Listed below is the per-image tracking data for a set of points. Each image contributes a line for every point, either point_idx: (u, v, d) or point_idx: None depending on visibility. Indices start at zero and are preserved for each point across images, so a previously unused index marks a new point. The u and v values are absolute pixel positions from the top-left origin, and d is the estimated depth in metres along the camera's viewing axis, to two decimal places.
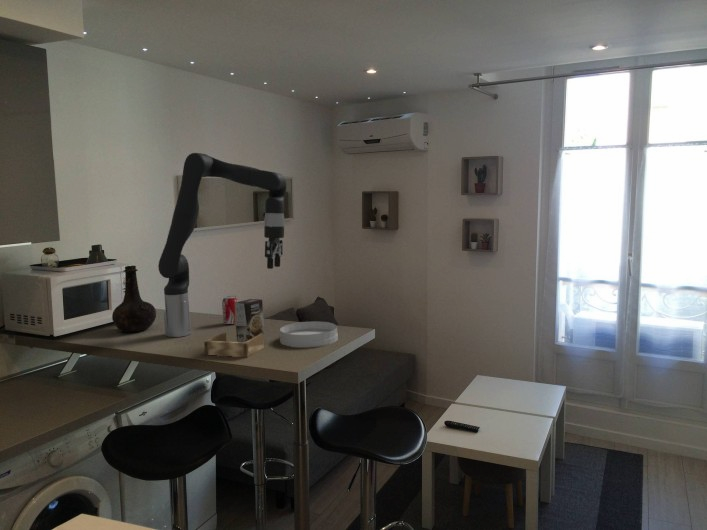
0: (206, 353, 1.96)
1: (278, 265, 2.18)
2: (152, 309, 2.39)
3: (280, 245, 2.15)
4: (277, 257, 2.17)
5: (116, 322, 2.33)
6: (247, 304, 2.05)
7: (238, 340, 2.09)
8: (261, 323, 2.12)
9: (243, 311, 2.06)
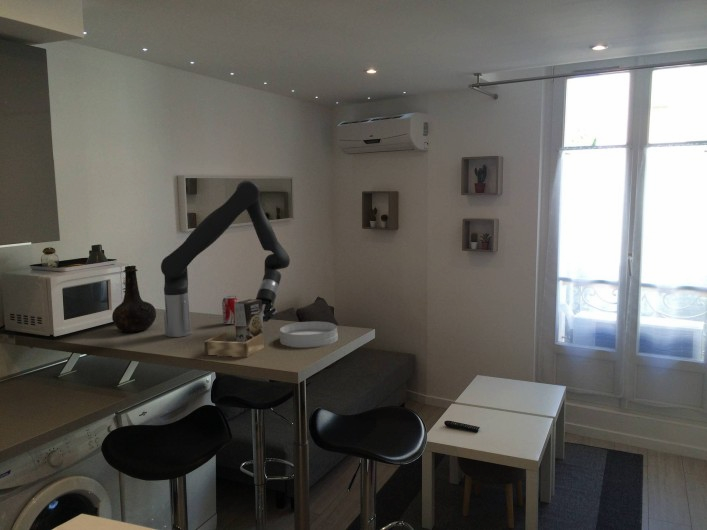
0: (206, 353, 1.96)
1: None
2: (152, 309, 2.39)
3: None
4: None
5: (116, 322, 2.33)
6: (247, 304, 2.05)
7: (238, 340, 2.09)
8: (260, 324, 2.12)
9: (243, 311, 2.06)
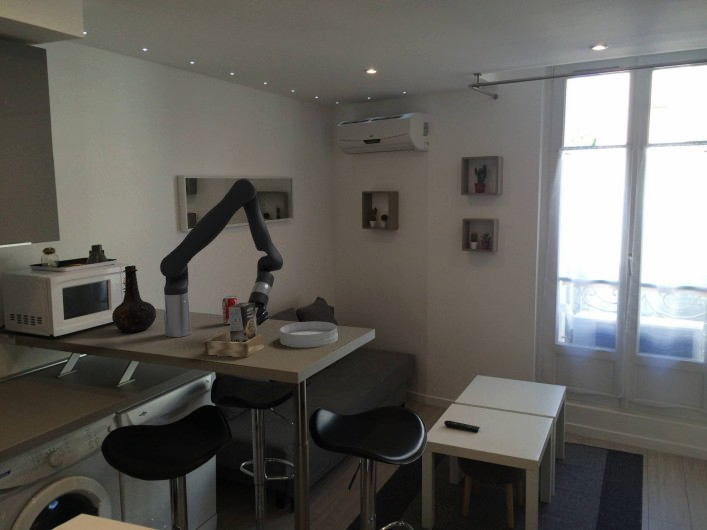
0: (206, 353, 1.96)
1: None
2: (152, 309, 2.39)
3: None
4: None
5: (116, 322, 2.33)
6: (244, 308, 1.98)
7: None
8: (254, 327, 2.06)
9: (239, 315, 1.99)
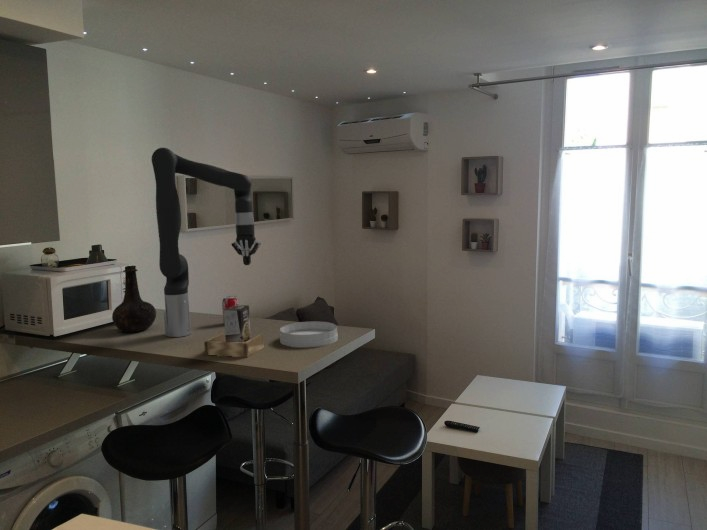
0: (206, 353, 1.96)
1: None
2: (152, 309, 2.39)
3: None
4: None
5: (116, 322, 2.33)
6: (240, 311, 1.94)
7: None
8: (249, 330, 2.01)
9: (236, 319, 1.94)
